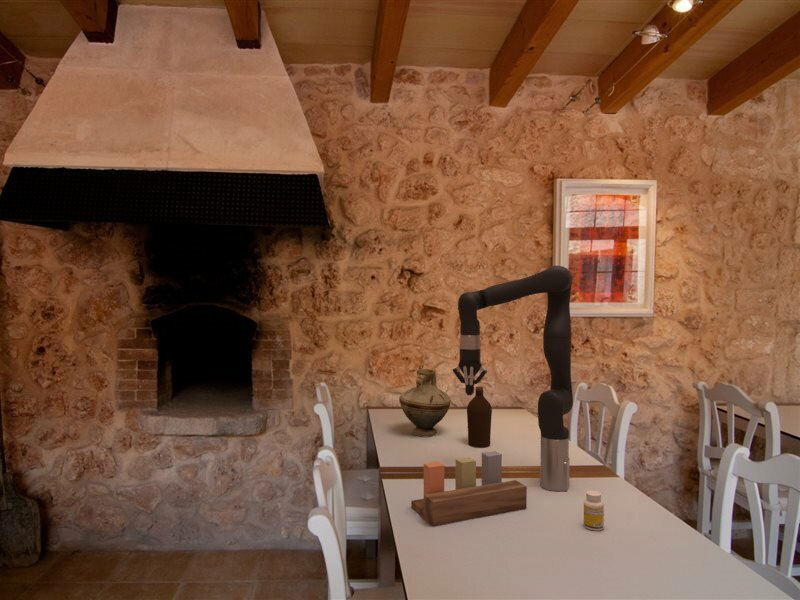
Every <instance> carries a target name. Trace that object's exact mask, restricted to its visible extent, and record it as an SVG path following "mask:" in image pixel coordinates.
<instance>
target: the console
mask: <svg viewBox="0 0 800 600" xmlns="http://www.w3.org/2000/svg"><path fill="white" fill-rule="evenodd" d="M527 487H528V486H527V485H525V484H523V483H521V482H520V481H518V480H516V479H513V480H507V481H502V482H500V483H494V484H488V485H482V484H481V485H476V486H475V487H469V488H463V489H457V490H455V489H450V490H444V492H438V493H432V494H426V495H424V494H423V498H421V499H414V500H411V508H412V509H413V510H414V511H416V513H417V514H419V515H420V517H422V519H424V520H425V521H426V522H427V523H428V524H429V525H431V526H432V527H437V526H443V525H448V524H453V523H458V522H464V521H469V520H475V519H480V518H487V517H490V516H491V517H492V516H496V515H497V516H498V515H503V514H507V513H513V512H518V511H522V510H527V507H528V506H527V503H528V502H527V501H528V500H527V499H528V498H527V497H528V491H527V490H528V488H527Z"/></svg>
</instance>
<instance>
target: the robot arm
mask: <svg viewBox="0 0 800 600" xmlns="http://www.w3.org/2000/svg"><path fill="white" fill-rule="evenodd" d="M572 284H573V275H572V273H571V271H570V270H569V269H568V268H567V267H565V266H562V265H556V264H555V265H552V266H549V267H547V268H545V269H543V270H542V271H539V272H537V273H534V274H532V275H529V276H527V277H523V278H520V279H515V280H511V281H506V282H502V283H498V284H495V285H491V286H488V287H486V288H484V289H478V290H475V291H466V292H463V293H462V294H461V295H460V296H459V298H458V302H457V309H458V317H459V321H460V324H459V325H460V327H459V328H460V332H459V333H460V334H459V362H458V364H457V366H456V367H455V368H453V369H452V372H453V373H454V375H455V376H456V378H457V379H458V381H459V382H460V383H462V384H464V385H465V387H464V390H465V391H464V393H465V394H466V396H469V397H471V396H472V395H474V394H475V385H477V384H479V383H480V382H481V381H482V380H483V379H484V377H485V376H486V375H487V373H488V370H487V369H485V368H483V365H482V361H481V347H482V345H481V343H482V341H481V336H480V335H481V332H480V331H481V328H480V327H481V324H480V320H479V319H478V311H480V310H483V309H486V308H489V307H493V306H498V305H502V304H507V303H511V302H513V301H517V300H520V299H522V298H525V297H528V296H533V295H538V294H546V295H547V309H546V310H547V311H546V313H545V314H546V316H545V320H544V325H543V334H542V335H543V337H542V341H543V342H542V349H543V353H544V358H545V360H546V363H547V365H548V368H549V371H550V388H549V389H548V390H546V391H543V392H541V394H540V395H539V397H538V402H537V418H538V419H537V421H538V422H537V423H538V428H539V431H540V464H539V466H540V472H539V473H540V478H539V479H540V480H539V481H540V484H539V485H540V487H541V488H543V489H545V490H548V491H551V492H552V491H553V492H561V491H563V492H568V489H569V487H570V457H569V454H570V453H569V450H570V447H569V446H570V445H569V444H570V441H569V439H570V433H569V432H570V431H569V430H570V429H568V427H566V426H564V415H566V414H568V413H570V411H571V410H572V409H573V405H574V396H573V387H572V386H573V385H572V384H573V383H572V376H571V375H572V374H571V373H572V357H571V356H572V322H571V321H572V319H571V313H570V312H571V310H570V309H571V308H570V305H571V293H572V286H573V285H572ZM478 373H479V375H478V377H476V375H477V374H478Z"/></svg>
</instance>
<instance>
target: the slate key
mask: <svg viewBox="0 0 800 600" xmlns="http://www.w3.org/2000/svg"><path fill="white" fill-rule="evenodd" d="M502 455H503V454H501V453H499V452H498V451H496V450H494V451H485V452H481V485H488V484H494V483H500V482H503V481H502V480H503V479H502V476H503V474H502V473H503V472H502V470H503V467H502V463H503V462H502V458H503V457H502Z"/></svg>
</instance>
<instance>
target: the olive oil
mask: <svg viewBox="0 0 800 600" xmlns="http://www.w3.org/2000/svg"><path fill="white" fill-rule="evenodd" d="M474 394H475V395H474V397H473V398H472V399H471V400H470V401H469V402H468V403H467V406H466V418H467V419H466V420H467V445H468V446H469V447H472V448H476V449H477V448H479V449H480V448H482V449H483V448H487V447H490V446H491V433H492V432H491V429H492V428H491V427H492V415H493V414H492V413H493V409H492V405H491V403H490V402H489V401H488V399H487V398H486V396H484V387H483V386H475V389H474Z"/></svg>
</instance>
